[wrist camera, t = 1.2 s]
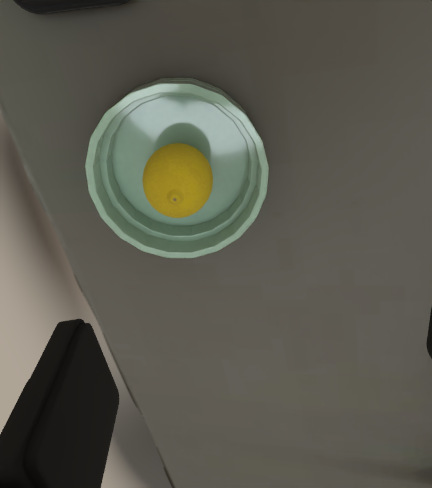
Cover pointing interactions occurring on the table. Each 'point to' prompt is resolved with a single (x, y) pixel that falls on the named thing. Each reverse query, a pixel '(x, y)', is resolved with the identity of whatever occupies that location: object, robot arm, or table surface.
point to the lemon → (177, 180)
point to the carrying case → (64, 5)
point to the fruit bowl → (167, 132)
